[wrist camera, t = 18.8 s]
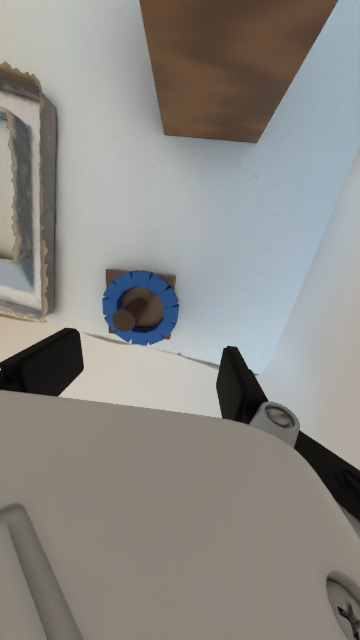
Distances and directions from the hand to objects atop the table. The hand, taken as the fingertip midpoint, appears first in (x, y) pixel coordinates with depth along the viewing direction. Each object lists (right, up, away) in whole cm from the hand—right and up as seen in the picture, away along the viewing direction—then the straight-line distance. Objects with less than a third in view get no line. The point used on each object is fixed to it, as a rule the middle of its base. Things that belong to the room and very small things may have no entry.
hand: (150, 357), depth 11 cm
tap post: (-4, +5, +14) cm, 15 cm away
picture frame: (-19, +16, +11) cm, 27 cm away
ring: (-3, +4, +12) cm, 13 cm away
